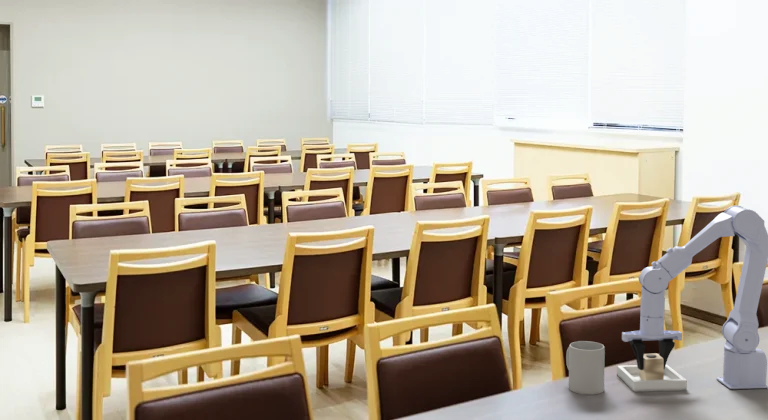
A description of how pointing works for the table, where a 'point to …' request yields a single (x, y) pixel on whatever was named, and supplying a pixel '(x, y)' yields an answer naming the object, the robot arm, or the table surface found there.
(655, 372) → the bore block
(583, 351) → the mug
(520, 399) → the table surface
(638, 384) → the tray
